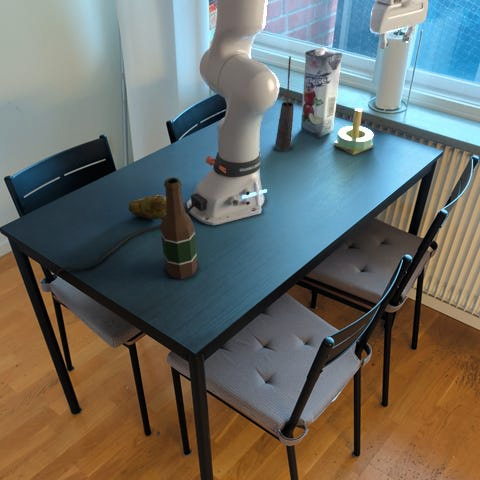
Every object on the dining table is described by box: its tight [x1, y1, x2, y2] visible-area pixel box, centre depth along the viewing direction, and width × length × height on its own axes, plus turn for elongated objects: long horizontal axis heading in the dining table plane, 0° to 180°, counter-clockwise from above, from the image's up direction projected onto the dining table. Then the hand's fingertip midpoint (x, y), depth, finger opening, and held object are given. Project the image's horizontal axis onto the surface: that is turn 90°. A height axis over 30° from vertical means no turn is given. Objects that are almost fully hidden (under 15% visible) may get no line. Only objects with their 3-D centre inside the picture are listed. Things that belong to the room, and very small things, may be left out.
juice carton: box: [300, 46, 343, 138], centre depth 174 cm, size 9×10×27 cm
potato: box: [128, 194, 167, 221], centre depth 142 cm, size 8×13×8 cm, turn 43°
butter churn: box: [274, 55, 295, 152], centre depth 164 cm, size 9×10×28 cm
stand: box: [333, 107, 374, 156], centre depth 170 cm, size 9×9×12 cm
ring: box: [336, 126, 375, 150], centre depth 173 cm, size 11×11×3 cm
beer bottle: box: [160, 177, 198, 280], centre depth 120 cm, size 8×8×24 cm
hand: (394, 44), depth 154 cm, fingers open, 8 cm apart
